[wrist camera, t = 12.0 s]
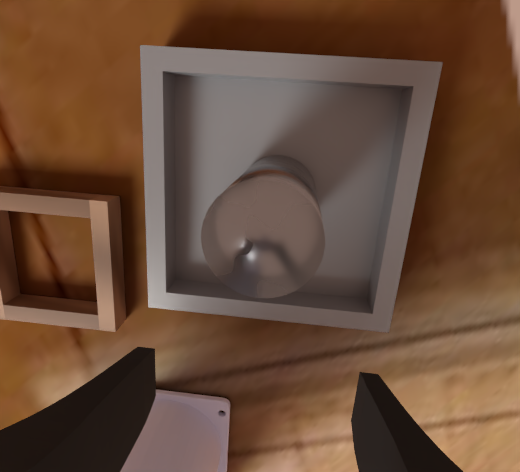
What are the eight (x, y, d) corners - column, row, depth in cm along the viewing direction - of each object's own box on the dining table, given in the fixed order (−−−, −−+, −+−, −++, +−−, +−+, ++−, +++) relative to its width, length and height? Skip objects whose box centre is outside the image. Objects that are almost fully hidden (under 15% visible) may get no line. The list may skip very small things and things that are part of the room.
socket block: (126, 318, 24) (115, 331, 22) (8, 305, 24) (-10, 317, 23) (119, 196, 21) (107, 201, 20) (-12, 184, 22) (-34, 189, 20)
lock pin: (312, 233, 20) (318, 303, 12) (238, 227, 20) (200, 292, 13) (319, 157, 19) (331, 184, 11) (241, 152, 19) (201, 175, 11)
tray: (378, 309, 22) (388, 332, 19) (163, 287, 23) (148, 307, 20) (423, 69, 18) (442, 62, 15) (159, 54, 19) (140, 44, 16)
